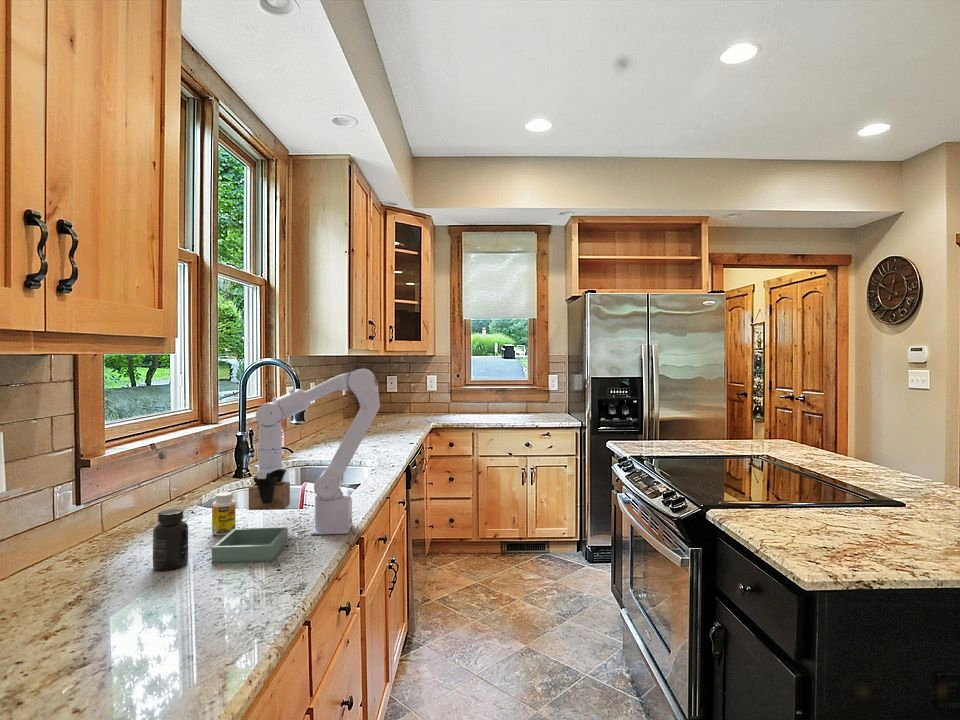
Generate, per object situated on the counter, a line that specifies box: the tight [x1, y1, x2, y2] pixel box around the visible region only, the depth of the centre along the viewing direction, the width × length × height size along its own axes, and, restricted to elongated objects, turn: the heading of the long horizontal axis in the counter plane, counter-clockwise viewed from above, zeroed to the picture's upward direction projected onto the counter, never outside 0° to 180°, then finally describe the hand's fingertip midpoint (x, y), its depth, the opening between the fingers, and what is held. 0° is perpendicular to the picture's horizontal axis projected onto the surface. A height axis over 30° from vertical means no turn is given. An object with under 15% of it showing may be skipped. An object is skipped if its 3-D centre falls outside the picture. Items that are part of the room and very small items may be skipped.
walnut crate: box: [248, 481, 291, 511], centre depth 141 cm, size 9×5×6 cm, turn 94°
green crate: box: [211, 527, 289, 565], centre depth 127 cm, size 13×13×4 cm
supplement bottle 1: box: [152, 508, 189, 572], centre depth 119 cm, size 7×7×12 cm
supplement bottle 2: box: [211, 491, 236, 537], centre depth 141 cm, size 6×6×10 cm
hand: (270, 500), depth 141 cm, fingers closed on walnut crate, 5 cm apart
